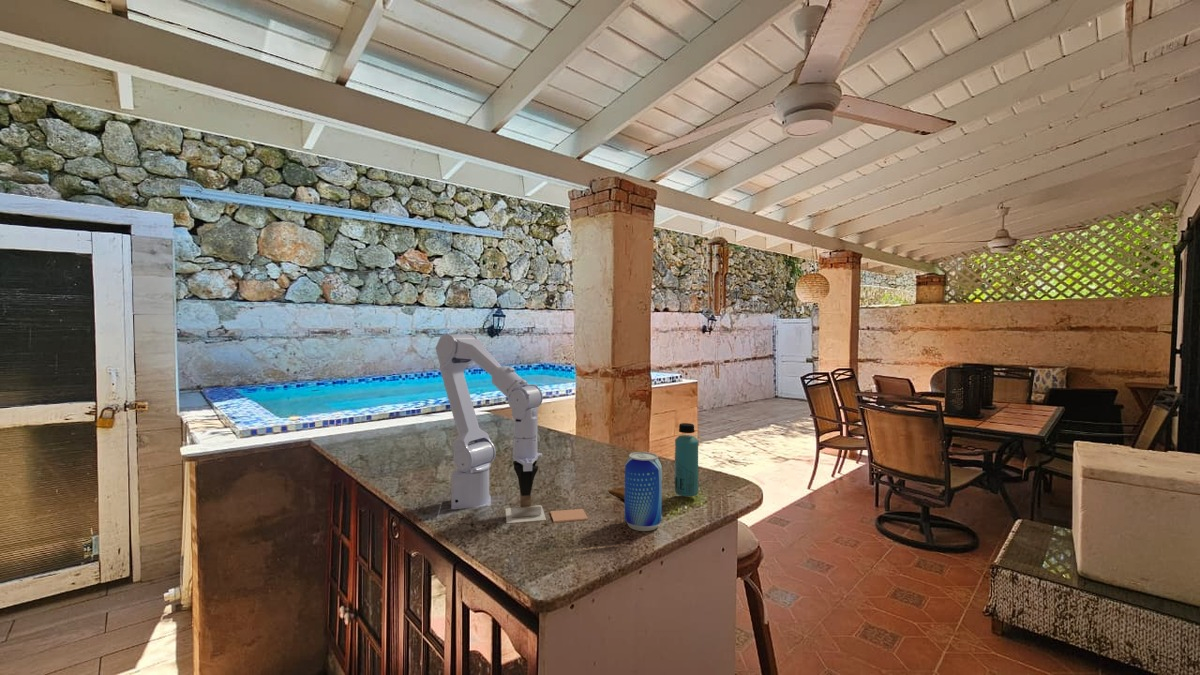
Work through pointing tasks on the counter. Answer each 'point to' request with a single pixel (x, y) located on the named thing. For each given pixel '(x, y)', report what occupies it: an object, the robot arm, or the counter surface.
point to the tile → (568, 515)
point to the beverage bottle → (686, 462)
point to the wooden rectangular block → (525, 508)
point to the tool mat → (525, 518)
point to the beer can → (643, 491)
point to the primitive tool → (619, 492)
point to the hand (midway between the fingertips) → (525, 492)
